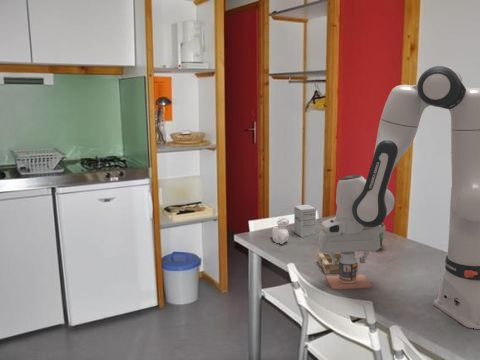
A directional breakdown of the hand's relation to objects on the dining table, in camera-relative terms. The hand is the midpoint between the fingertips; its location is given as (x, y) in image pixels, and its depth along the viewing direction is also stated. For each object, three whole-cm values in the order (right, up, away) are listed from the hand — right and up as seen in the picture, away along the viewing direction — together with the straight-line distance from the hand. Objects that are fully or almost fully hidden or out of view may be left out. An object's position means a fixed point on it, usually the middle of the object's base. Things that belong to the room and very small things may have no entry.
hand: (348, 263), depth 157 cm
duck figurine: (-19, +1, +45) cm, 48 cm away
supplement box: (-7, +4, +53) cm, 54 cm away
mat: (0, -7, +1) cm, 7 cm away
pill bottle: (0, -6, +1) cm, 6 cm away
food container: (+19, +1, +35) cm, 40 cm away
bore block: (-1, -4, +15) cm, 16 cm away
